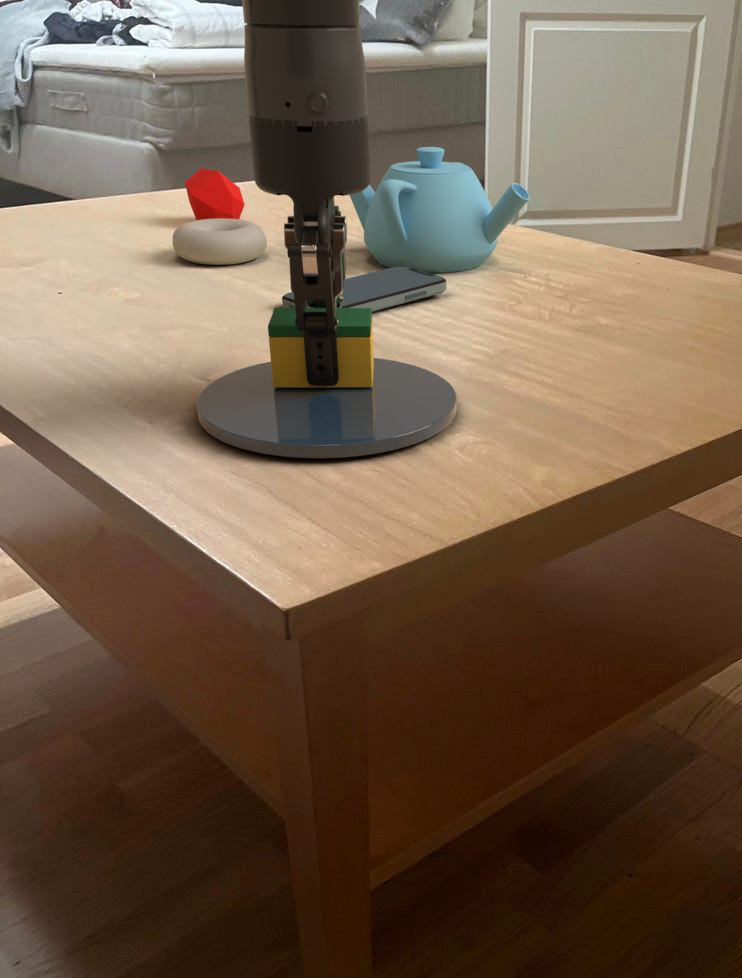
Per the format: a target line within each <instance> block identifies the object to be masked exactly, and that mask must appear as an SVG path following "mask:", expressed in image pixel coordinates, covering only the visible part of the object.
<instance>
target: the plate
mask: <svg viewBox="0 0 742 978" xmlns="http://www.w3.org/2000/svg"><path fill="white" fill-rule="evenodd" d="M373 359H374V371H373V387H359V388H274V387H273V378H272V367H271V361H267V362H261V363H258V364H254V365H249V366H247V367H243V368H240V369H236V370H234V371H232V372H229V373H226V374H224V375H222V376H221V377H219V378H217V379H215V380H214V381H212V382H211V383H209V384H208V385H206V387H204V388H203V390H201V392H200V393H199V395H198V396H197V400H196V411H197V420H198V421H199V424H200V425H201V427H202V428H203V429H204V430H205V432H206V433H207V434H209V435H211V436H212V437H214V438H215V439H216V440H218V441H221V442H223V443H224V444H227V445H231V446H233V447H235V448H238V449H242V450H245V451H249V452H252V453H258V454H262V455H270V456H278V457H285V458H298V459H299V458H301V459H337V458H338V459H339V458H351V457H362V456H369V455H374V454H375V455H376V454H381V453H385V452H391V451H395V450H399V449H402V448H406V447H409V446H413V445H415V444H418V443H420V442H424V441H426V440H428V439H430V438H432V437H434V436H436V435H437V434H440V432H442V431H444V429H446V428H447V427H448V426H449V425H450V424H451V423H452V421H453V420H454V419H455V416H456V414H457V407H458V406H457V403H458V402H457V399H458V398H457V397H458V396H457V393H456V390H455V389H454V386H453V385H452V384H451V383H450V382H448V380H446V378H443V376H440V375H439V374H437V373H434V372H433V371H430V370H428V369H426V368H423V367H420V366H418V365H413V364H410V363H406V362H402V361H397V360H392V359H386V358H379V357H373Z"/></svg>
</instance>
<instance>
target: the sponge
mask: <svg viewBox="0 0 742 978" xmlns="http://www.w3.org/2000/svg"><path fill="white" fill-rule="evenodd" d="M308 312H326V308H308ZM295 318H296V309H295V308H284V307H274V308H273V310H272V314H271V317H270V319H269V322H268V325H267V332H268V345H269V355H270V362H271V367H272V378H273V387H274V388H359V387H373V371H374V359H373V358H374V342H373V341H374V336H373V335H374V334H373V312H372V309H371V308H337V319H339V327H337V332H336V334H337V351H338V368H339V380H338V383H337V384H336V385H334V386H312V385H310V384H309V383H308V381H307V374H306V361H305V348H304V335H303V333H301V331H298V327H297V325H296V324H295Z"/></svg>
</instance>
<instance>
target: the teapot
mask: <svg viewBox="0 0 742 978" xmlns="http://www.w3.org/2000/svg"><path fill="white" fill-rule="evenodd" d="M445 151H446V150H445V149H444V148H442V147H438V146H422V147H418V148H416V155H417V158H418V160H412V161H404V162H397V163H394V164H392V165H390V166H389V167H388V169H387V170H386V172H385V174H384V175H383V177H382V178H381V181H380V182H379V184H378V186H377V188H376V190H374V189H373V188H372V186H371V185H370V184H369V186H368V187H367V188H366V189H365V190H363V191H361V192H359V193H356V194H351V195H349V198H350V200H351V203H352V205H353V207H354V210H355V212H356V215H357V217H358V219H359V222H360V224H361V227H362V229H363V241H364V244H365V247H366V249H367V250H368V251H369V253H370V255H372V257H373V258H374V259H375V260H376V261H377V262H378V263H379V264H380V265H382V266H384V267H387V268H392V267H400V266H401V267H408V268H413V269H417V270H420V271H424V272H427V273H431V274H434V273H436V274H437V273H442V274H443V273H455V272H456V273H457V272H462V271H468V270H472V269H476V268H478V267H480V266H482V265H483V264H484V263H485V262H486V261H487V260H488V259H489V258H490V256H491V255H492V254H493V252H494V251H495V250H496V248H497V245H498V237H499V236H500V235H501V234H502V233H503V231H504V230H505V229H506V228H507V227H508V225H509V224H511V222H512V221H513V219H514V218H515V217H516V216H517V215H518V214H519V212H520V211H521V210H522V209H523V208H524V207H525V205H526V204H527V203H528V202H529V201H530V199H531V195H530V193H529V192H528V191H527V189H526V188H525V187H524V186H523V185H521V184H520V183H518V182H511V184H510V185H509V187H508V188H507V189H506V190H505V192H504V193H503V195H501V197H500V199H498V201H497V202H496V203H495V205H494V206H492V204H491V201H490V199H489V197H488V195H487V193H486V191H485V189H484V187H483V185H482V183H481V182H480V180H479V178H478V176H477V175H476V173H475V172H474V170H473V169H472V168H471V166H469V165H467V164H465V163H462V162H460V161H459V162H458V161H453V162H451V161H443V158H444V155H445Z"/></svg>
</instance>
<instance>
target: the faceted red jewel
mask: <svg viewBox="0 0 742 978" xmlns="http://www.w3.org/2000/svg"><path fill="white" fill-rule="evenodd" d="M184 185H185V189H186V193H187V198H188V203H189V205H190V207H191V210H192V213H193V216H194V218H195V221H196V220H203V219H221V218H224V219H239V220H240V218H241V216H242V214H243V210H244V208H245V206H246V205H245V202H244V198H243V195H242V191H241V188H240V187H239V185H237V184H235V182H233V181H232V180H231V179H229V178H228V177H227V176H225V175H224V174H223V173H221V172H220V171H219V170H216V169H208V168H200V169H199V170H198V171H196V173H195V172H194V174H193V175H192V176H191V177H190V178H189V179H187V181H185V182H184Z"/></svg>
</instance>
